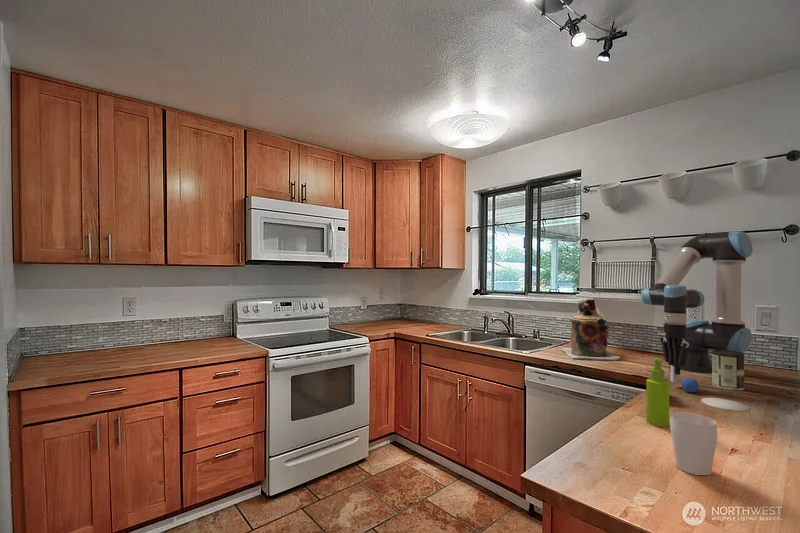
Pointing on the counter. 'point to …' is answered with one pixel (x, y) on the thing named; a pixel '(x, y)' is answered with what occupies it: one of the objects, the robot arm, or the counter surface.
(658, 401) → the soap dispenser
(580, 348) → the cookie jar
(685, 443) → the cup
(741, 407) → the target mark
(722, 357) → the coffee can
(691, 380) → the ball
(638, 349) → the counter surface
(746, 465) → the counter surface
